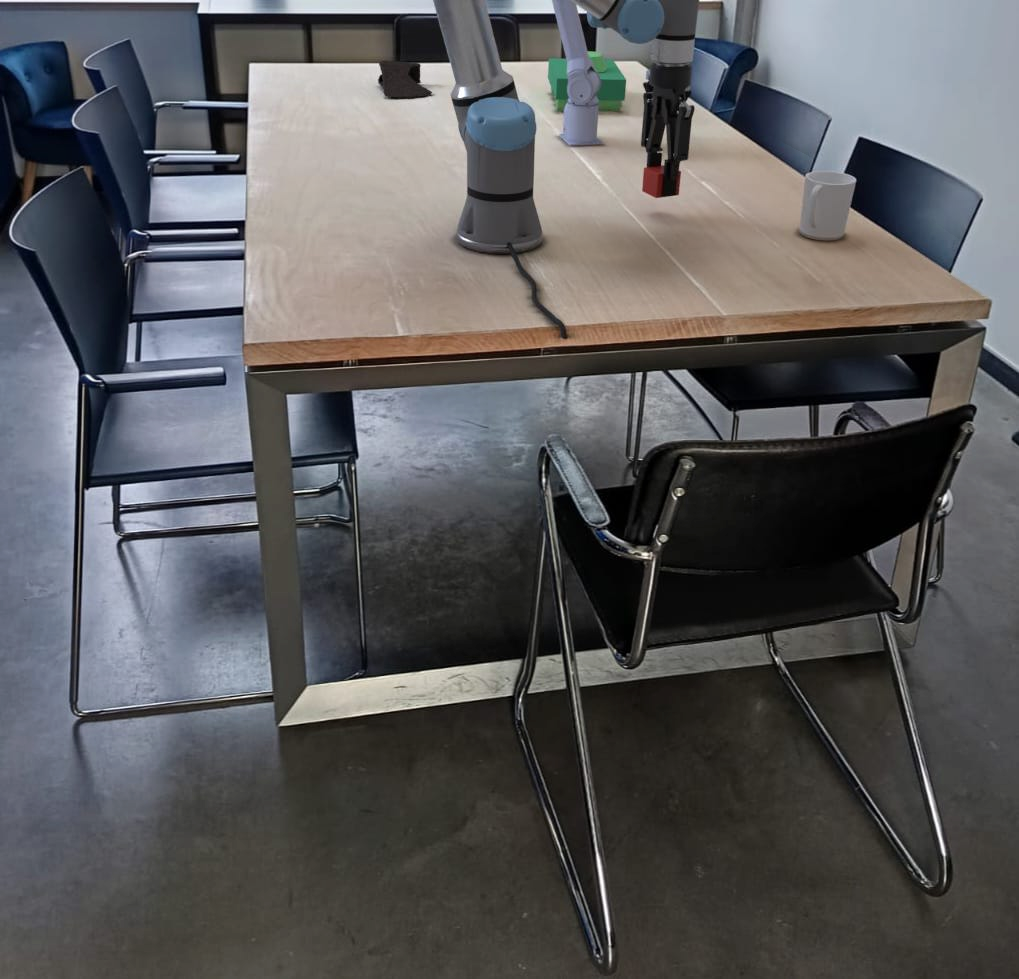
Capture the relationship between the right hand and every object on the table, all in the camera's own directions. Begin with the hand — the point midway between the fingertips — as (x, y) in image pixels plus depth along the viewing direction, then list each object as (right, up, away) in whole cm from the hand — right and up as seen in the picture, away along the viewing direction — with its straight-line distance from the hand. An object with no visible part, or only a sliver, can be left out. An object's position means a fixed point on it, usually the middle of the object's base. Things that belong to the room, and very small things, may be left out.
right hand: (664, 118), depth 250 cm
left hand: (-7, -28, -42) cm, 51 cm away
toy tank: (-16, +21, +46) cm, 53 cm away
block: (-7, -28, -41) cm, 51 cm away
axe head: (-64, +24, +50) cm, 85 cm away
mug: (+22, -38, -48) cm, 65 cm away
